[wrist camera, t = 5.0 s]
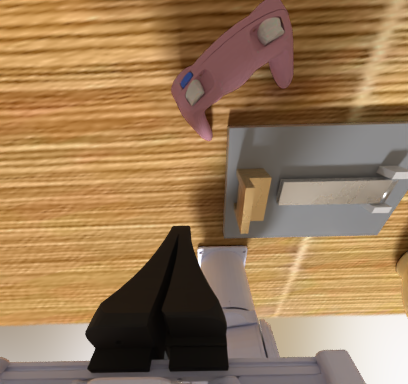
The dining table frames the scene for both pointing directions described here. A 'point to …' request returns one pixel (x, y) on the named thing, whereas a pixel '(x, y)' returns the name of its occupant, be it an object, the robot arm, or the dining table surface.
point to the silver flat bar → (335, 191)
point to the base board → (316, 174)
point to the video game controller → (236, 62)
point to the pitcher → (404, 279)
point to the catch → (251, 196)
